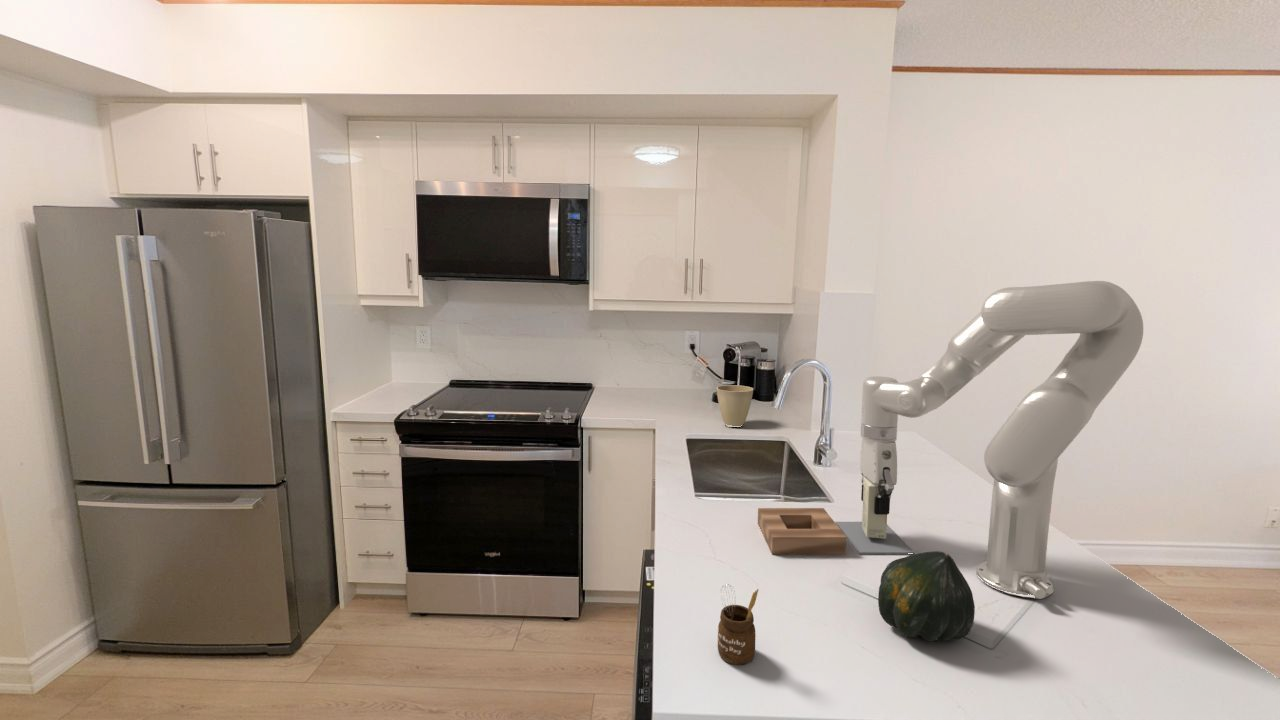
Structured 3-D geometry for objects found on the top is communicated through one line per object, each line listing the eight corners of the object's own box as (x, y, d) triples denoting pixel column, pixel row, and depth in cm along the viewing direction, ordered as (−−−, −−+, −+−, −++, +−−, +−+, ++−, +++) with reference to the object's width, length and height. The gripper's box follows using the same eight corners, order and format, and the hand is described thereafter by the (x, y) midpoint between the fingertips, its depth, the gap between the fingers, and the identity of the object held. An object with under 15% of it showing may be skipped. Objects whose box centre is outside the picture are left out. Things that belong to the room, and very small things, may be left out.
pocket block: (845, 554, 124) (846, 537, 123) (772, 554, 124) (772, 537, 123) (822, 523, 140) (823, 508, 139) (757, 523, 140) (758, 508, 139)
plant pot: (752, 431, 226) (753, 392, 224) (715, 429, 228) (715, 390, 226) (752, 422, 240) (753, 385, 238) (716, 421, 243) (717, 384, 241)
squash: (849, 578, 103) (897, 543, 93) (912, 567, 109) (964, 532, 98) (888, 662, 95) (946, 634, 84) (955, 645, 100) (1017, 617, 89)
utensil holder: (729, 637, 95) (730, 570, 93) (763, 653, 91) (765, 583, 89) (710, 655, 91) (711, 585, 89) (745, 672, 87) (746, 599, 85)
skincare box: (886, 539, 128) (889, 487, 126) (866, 538, 129) (868, 486, 127) (880, 527, 134) (883, 477, 132) (861, 526, 135) (863, 476, 133)
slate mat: (914, 554, 124) (914, 552, 124) (859, 554, 124) (859, 552, 124) (884, 523, 139) (884, 521, 139) (835, 523, 140) (835, 521, 140)
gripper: (913, 442, 119) (908, 523, 122) (879, 422, 137) (875, 493, 139) (877, 442, 120) (873, 523, 122) (848, 422, 137) (845, 493, 139)
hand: (874, 506), depth 130 cm, fingers closed on skincare box, 6 cm apart
